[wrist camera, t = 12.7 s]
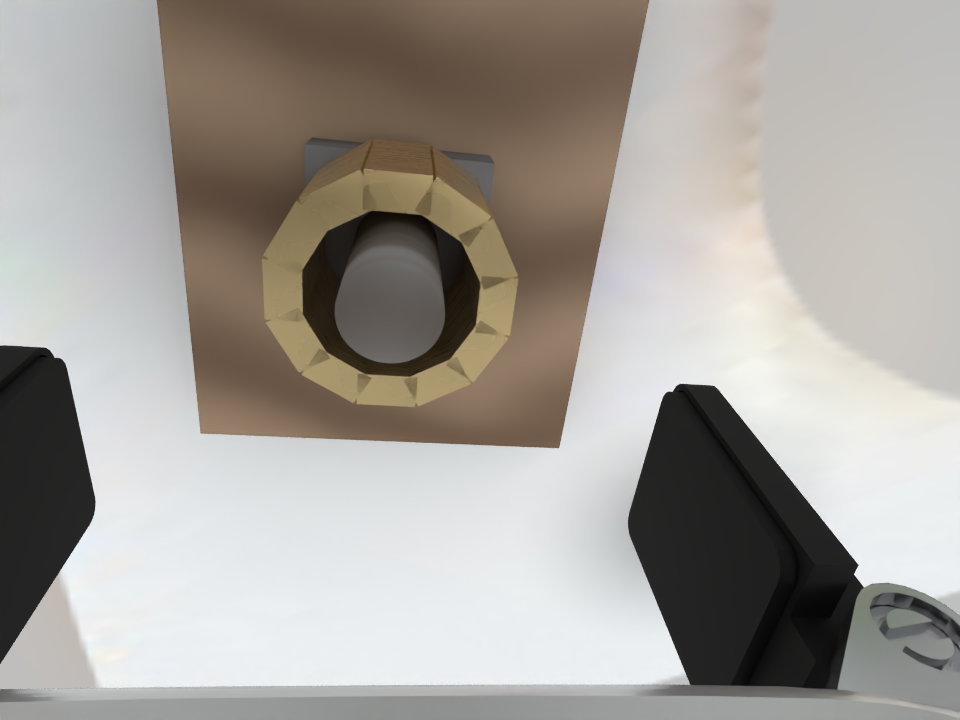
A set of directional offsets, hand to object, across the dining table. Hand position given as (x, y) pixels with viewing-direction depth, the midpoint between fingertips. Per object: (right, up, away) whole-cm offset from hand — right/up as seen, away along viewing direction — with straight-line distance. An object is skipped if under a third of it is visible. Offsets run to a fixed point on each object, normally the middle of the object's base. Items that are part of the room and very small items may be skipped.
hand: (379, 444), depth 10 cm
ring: (-1, +5, +11) cm, 13 cm away
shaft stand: (-1, +7, +14) cm, 16 cm away
